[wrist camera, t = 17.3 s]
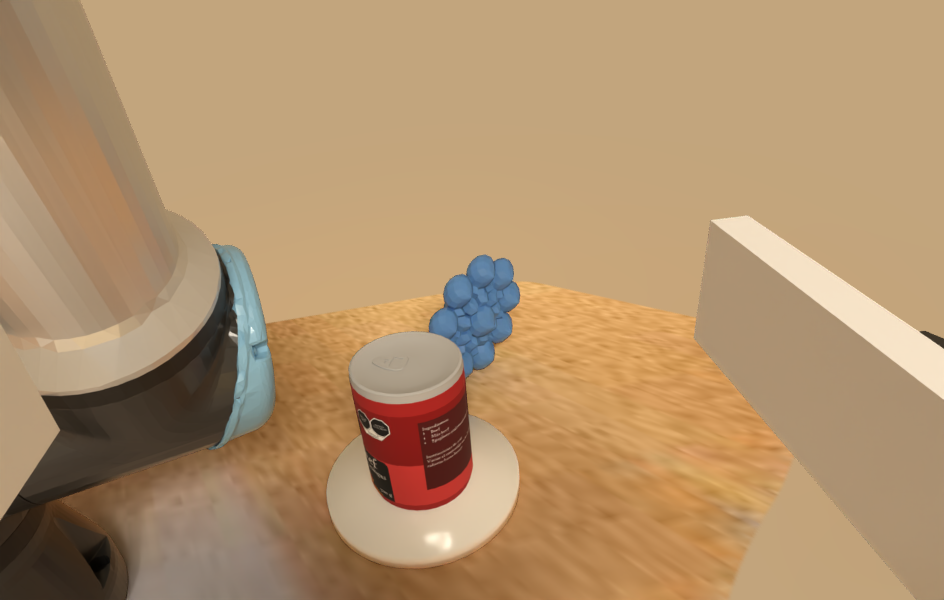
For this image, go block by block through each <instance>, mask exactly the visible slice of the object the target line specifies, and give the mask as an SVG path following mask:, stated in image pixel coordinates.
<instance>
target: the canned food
mask: <svg viewBox="0 0 944 600" xmlns="http://www.w3.org/2000/svg"><path fill="white" fill-rule="evenodd" d="M349 379H350V385H351V389H352V395H353V400H354V404H355V409H356V413H357V417H358V422H359V426H360V431H361V435H362V439H363V444H364V448H365V453H366V457H367V461H368V466H369V470H370V475H371V479H372V482H373V484H374V486H375V488H376V489H377V491H378V492H379V494H380V495H381V496H382V497H383V498H384V499H385V500H386V501H387V502H389V503H390V504H392V505H394V506H396V507H398V508H402V509H406V510H415V511H420V510H429V509H434V508H438V507H440V506H443V505H445V504H447V503H449V502H451V501H452V500H454V499H455V498H456V497H458V496H459V495H460V494H461V493H462V492H463V490H464V489H465V488H466V486H467V484H468V482H469V480H470V477H471V474H472V469H473V459H472V448H471V437H470V426H469V415H468V404H467V393H466V381H465V372H464V364H463V359H462V354H461V352H460V349H459V348H458V347H457V345H456V344H455V343H454V342H452V341H451V340H449V339H448V338H445V337H443V336H441V335H437V334H434V333H428V332H416V331H411V332H401V333H395V334H390V335H387V336H384V337H381V338H378V339H376V340H374V341H372V342H370V343H368V344H366V345H365V346H364V347H362V348H361V349H360V350H358V352H357V353H356V354H355V355H354V356H353V358H352V360H351V361H350V364H349Z"/></svg>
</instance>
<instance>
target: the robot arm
mask: <svg viewBox="0 0 944 600" xmlns="http://www.w3.org/2000/svg"><path fill="white" fill-rule="evenodd" d="M694 339H695V340H696V341H697V342H698V344H699V345H700V346H701V347H702V348H703V350H704V351H705V352H706V353H707V354H708V355H709V357H710V358H711V359H712V360H713V361H714V362H715V364H716V365H717V366H718V367H719V368H720V370H721V371H722V372H723V373H724V374H725V375H726V377H727V378H728V379H729V380H730V381H731V382H732V384H733V385H734V386H735V387H736V388H737V390H738V391H739V392H740V393H741V394H742V395H743V397H744V398H745V399H746V400H747V401H748V402H749V404H750V405H751V406H752V407H753V408H754V410H755V411H756V412H757V413H758V414H759V415H760V417H761V418H762V419H763V420H764V421H765V422H766V424H767V425H768V426H769V427H770V428H771V429H772V431H773V432H774V433H775V434H776V435H777V437H778V438H779V439H780V440H781V441H782V442H783V444H784V445H785V446H786V447H787V448H788V449H789V451H790V452H791V453H792V454H793V455H794V457H795V458H796V459H797V460H798V461H799V462H800V464H801V465H802V466H803V467H804V468H805V469H806V471H807V472H808V473H809V474H810V475H811V477H812V478H813V479H814V480H815V481H816V482H817V484H818V485H819V486H820V487H821V488H822V489H823V491H824V492H825V493H826V494H827V495H828V496H829V498H830V499H831V500H832V501H833V502H834V503H835V505H836V506H837V507H838V508H839V509H840V511H841V512H842V513H843V514H844V515H845V516H846V518H847V519H848V520H849V521H850V522H851V523H852V525H853V526H854V527H855V528H856V529H857V531H858V532H859V533H860V534H861V535H862V536H863V538H864V539H865V540H866V541H867V542H868V544H869V545H870V546H871V547H872V548H873V549H874V551H875V552H876V553H877V554H878V555H879V556H880V558H881V559H882V560H883V561H884V562H885V564H886V565H887V566H888V567H889V568H890V569H891V571H892V572H893V573H894V574H895V575H896V576H897V578H898V579H899V580H900V581H901V582H902V583H903V585H904V586H905V587H906V588H907V589H908V590H909V592H910V593H911V594H912V595H913V596H914V598H915V599H916V600H944V339H943V338H941V337H938V336H936V335H934V334H931V333H929V332H926V331H920V332H918V331H917V330H915V329H914V328H912V327H911V326H909V325H908V324H907V323H905V322H904V321H902V320H901V319H899V318H898V317H896V316H895V315H893V314H892V313H890V312H889V311H887V310H886V309H885V308H883V307H882V306H880V305H879V304H877V303H875V302H874V301H873V300H871V299H870V298H868V297H867V296H865V295H864V294H862V293H861V292H860V291H858V290H857V289H855V288H854V287H852V286H851V285H849V284H848V283H846V282H845V281H843V280H842V279H840V278H839V277H838V276H836V275H835V274H833V273H832V272H830V271H829V270H827V269H826V268H824V267H823V266H821V265H820V264H818V263H817V262H815V261H814V260H813V259H811V258H810V257H808V256H807V255H805V254H804V253H802V252H801V251H799V250H798V249H796V248H795V247H793V246H792V245H790V244H789V243H788V242H786V241H785V240H783V239H781V238H780V237H779V236H777V235H776V234H774V233H773V232H771V231H770V230H768V229H767V228H765V227H764V226H762V225H761V224H759V223H758V222H757V221H755V220H754V219H752V218H751V217H749V216H740V217H733V218H725V219H717V220H711V221H710V227H709V234H708V241H707V249H706V255H705V262H704V270H703V277H702V284H701V291H700V298H699V305H698V312H697V319H696V326H695V333H694ZM267 343H268V339H267V332H266V324H265V320H264V315H263V311H262V307H261V303H260V299H259V295H258V292H257V288H256V285H255V281H254V278H253V275H252V272H251V270H250V267H249V264H248V262H247V260H246V258H245V256H244V254H243V253H242V251H241V250H240V249H238V248H237V247H234V246H232V245H225V246H221V245H218V244H211V242H210V241H209V239H208V238H207V237H206V236H205V234H204V232H203V231H202V230H201V229H199V228H198V227H197V226H196V225H195V224H194V223H192V222H191V221H189V220H187V219H186V218H184V217H182V216H180V215H178V214H176V213H174V212H172V211H168V210H166V209H165V207H164V205H163V203H162V200H161V198H160V195H159V193H158V190H157V188H156V185H155V183H154V180H153V178H152V176H151V173H150V171H149V169H148V166H147V163H146V161H145V158H144V156H143V154H142V151H141V149H140V146H139V144H138V141H137V139H136V136H135V134H134V131H133V129H132V127H131V124H130V122H129V119H128V117H127V114H126V112H125V109H124V107H123V104H122V102H121V99H120V97H119V95H118V92H117V90H116V87H115V85H114V82H113V80H112V77H111V75H110V72H109V70H108V68H107V65H106V63H105V60H104V58H103V55H102V53H101V50H100V48H99V45H98V43H97V41H96V38H95V36H94V33H93V31H92V28H91V26H90V23H89V21H88V18H87V16H86V13H85V11H84V9H83V6H82V4H81V1H80V0H0V600H125V598H126V593H127V585H128V576H127V569H126V565H125V562H124V560H123V558H122V556H121V554H120V552H119V551H118V549H117V547H116V545H115V544H114V542H113V540H112V539H111V537H110V536H109V535H108V534H107V533H106V532H105V530H104V529H102V528H101V527H100V526H99V525H97V524H96V523H94V522H92V521H91V520H89V519H88V518H86V517H85V516H83V515H81V514H80V513H78V512H77V511H75V510H73V509H72V508H70V507H69V506H67V505H65V504H64V503H62V502H61V501H59V500H58V499H60V498H63V497H66V496H69V495H71V494H74V493H77V492H80V491H83V490H86V489H89V488H92V487H95V486H98V485H101V484H104V483H107V482H110V481H113V480H115V479H118V478H121V477H124V476H127V475H130V474H133V473H136V472H139V471H142V470H145V469H148V468H151V467H154V466H157V465H159V464H162V463H165V462H168V461H171V460H174V459H177V458H180V457H183V456H186V455H189V454H192V453H195V452H198V451H201V450H204V449H209V450H212V449H217V448H220V447H222V446H224V445H225V444H226V443H227V442H228V441H230V440H232V439H235V438H237V437H240V436H242V435H244V434H247V433H249V432H252V431H255V430H257V429H259V428H260V427H262V426H263V425H264V424H265V423H266V422H267V421H268V420H269V418H270V417H271V415H272V413H273V410H274V406H275V379H274V370H273V363H272V358H271V353H270V350H269V347H268V346H267Z"/></svg>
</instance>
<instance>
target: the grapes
mask: <svg viewBox="0 0 944 600" xmlns="http://www.w3.org/2000/svg"><path fill="white" fill-rule="evenodd" d="M513 275H514V271H513V266H512V264H511V262H510V261H509V260H507V259H505V258H501V259H497V260H496V261H493V260H492V258H491V257H489V256H487V255H480V256H477V257H476V258H475V259H474V260H472V261H471V263H470V264H469V266H468V268H467V274H466V275H463V274H461V275H456V276H454V277H453V278H451V279H450V280H449V281H448V283H447V284H446V286H445V288H444V293H443V295H444V302H445V304H444V308H442V309H440V310H438V311H437V312H436V313H435V314H434V315H433V316H432V318H431V319H430V323H429V333H434V334H437V335H441V336H443V337H445V338H448V339H449V340H451V341H452V342H454V343H455V344H456V345H457V347H458V348H459V349H460V352H461V354H462V359H463V364H464V372H465V378H467V377H468V376H469V375H470V374H471V373H472V371H473V368H474V369H476V370H480V369H484V368H485V367H487V366H488V365H490V364H491V362H492V361H493V360H494V355H495V350H494V345H493V343H500V342H502V341H504V340H505V339H507V338H508V337H509V336H510V335H511V333H512V326H513V325H512V319H511V317H510V315H509V314H508V313H506V312H509V311H511V310H512V309H514V308H515V307H516V306H517V304H518V303H519V300H520V291H519V287H518V286H517V284H516V283H515V282H513V281H512V280H513ZM492 342H493V343H492Z"/></svg>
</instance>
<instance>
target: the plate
mask: <svg viewBox="0 0 944 600" xmlns="http://www.w3.org/2000/svg"><path fill="white" fill-rule="evenodd" d="M468 415H469V414H468ZM469 426H470V437H471V448H472V459H473V469H472V474H471V477H470V480H469V482H468V484H467V486H466V488H465V489H464V490H463V492H462V493H461V494H460V495H459V496H458V497H456V498H455V499H454V500H452V501H451V502H449V503H447V504H445V505H443V506H440V507H438V508H434V509H429V510H420V511H415V510H406V509H402V508H398V507H396V506H394V505H392V504H390V503H389V502H387V501H386V500H385V499H384V498H383V497H382V496H381V495H380V494H379V492H378V491H377V489H376V488H375V486H374V484H373V482H372V479H371V475H370V470H369V466H368V461H367V457H366V453H365V448H364V444H363V439H362V435H361V434H360V435H359V436H358V437H356V438H355V439H354V440H353V441H352V442H351V443H350V444H349V445H348V446H347V447H346V448H345V449H344V450H343V452H342V453H341V454H340V455H339V457H338V459H337V460H336V462H335V463H334V465H333V468H332V470H331V472H330V475H329V479H328V482H327V491H326V495H327V504H328V508H329V512H330V516H331V519H332V523H333V525H334V527H335V529H336V532H337V533H338V535H339V536H340V537H341V539H342V540H343V542H344V543H345V544H346V545H347V546H348V547H349V548H350V549H352V550H353V551H355V552H356V553H357V554H359V555H360V556H362V557H364V558H366V559H368V560H370V561H372V562H375V563H378V564H381V565H384V566H389V567H394V568H403V569H422V568H430V567H436V566H441V565H444V564H448V563H451V562H454V561H457V560H459V559H462V558H464V557H466V556H468V555H470V554H472V553H474V552H475V551H477V550H479V549H480V548H482V547H483V546H484V545H486V544H487V543H488V542H490V541H491V540H492V539H493V538H494V537H495V536H496V535H497V534H498V533H499V532H500V531H501V530H502V528H503V527H504V526H505V525H506V523H507V522H508V520H509V518H510V517H511V515H512V513H513V511H514V509H515V506H516V504H517V500H518V496H519V487H520V480H519V465H518V461H517V457H516V454H515V452H514V450H513V447H512V446H511V444H510V443H509V441H508V440H507V438H506V437H505V436H504V435H503V434H502V433H501V432H500V431H499V430H497V429H496V428H495V427H494V426H492V425H491V424H489V423H487V422H486V421H484V420H482V419H480V418H477V417H475V416H472V415H469Z"/></svg>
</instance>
